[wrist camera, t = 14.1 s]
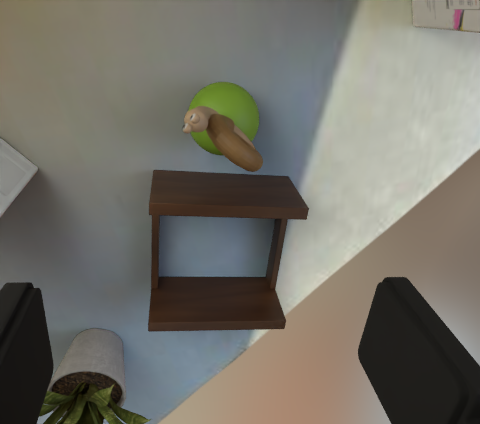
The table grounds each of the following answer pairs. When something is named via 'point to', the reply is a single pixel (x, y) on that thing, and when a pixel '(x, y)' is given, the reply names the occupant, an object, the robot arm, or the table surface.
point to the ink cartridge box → (447, 14)
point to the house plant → (90, 383)
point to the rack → (220, 288)
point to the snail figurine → (225, 123)
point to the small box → (13, 174)
